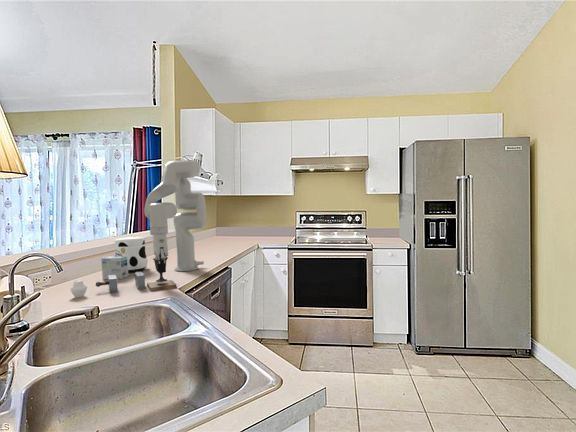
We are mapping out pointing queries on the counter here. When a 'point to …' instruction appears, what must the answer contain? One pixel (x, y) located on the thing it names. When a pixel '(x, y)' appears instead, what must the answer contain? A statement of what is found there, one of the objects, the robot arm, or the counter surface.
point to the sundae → (157, 268)
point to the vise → (113, 282)
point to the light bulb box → (115, 266)
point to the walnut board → (161, 285)
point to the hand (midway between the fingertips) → (161, 271)
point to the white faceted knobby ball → (78, 289)
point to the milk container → (132, 252)
